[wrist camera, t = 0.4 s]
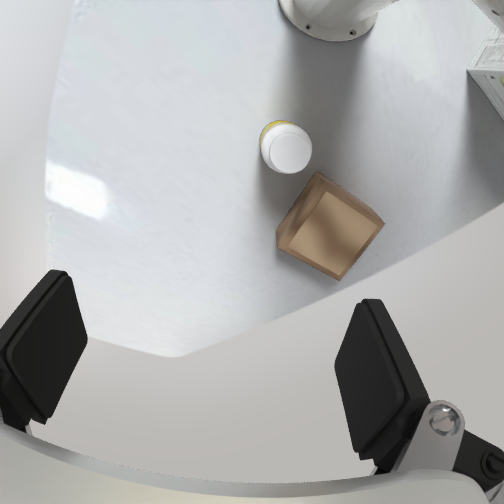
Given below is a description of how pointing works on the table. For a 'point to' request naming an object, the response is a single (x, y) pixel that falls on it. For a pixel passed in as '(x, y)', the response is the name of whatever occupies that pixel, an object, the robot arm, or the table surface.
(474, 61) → the supplement box
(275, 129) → the supplement bottle
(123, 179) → the table surface
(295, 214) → the brown square tray
